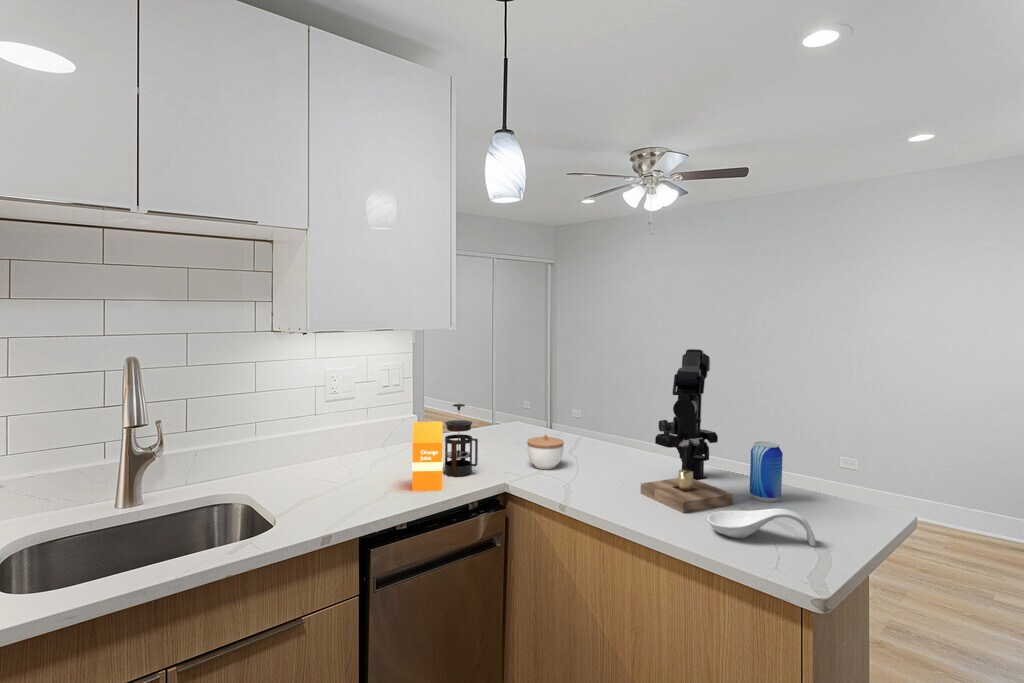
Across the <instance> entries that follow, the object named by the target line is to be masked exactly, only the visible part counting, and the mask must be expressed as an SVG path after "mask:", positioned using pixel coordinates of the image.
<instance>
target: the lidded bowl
mask: <svg viewBox="0 0 1024 683" xmlns="http://www.w3.org/2000/svg"><path fill="white" fill-rule="evenodd" d="M526 442H527V443H526V444H527V454H528V458H529V460H530V462H531V463H532V465H533V466H534V467H535V468H536V469H538V468H539V470H552V468H553V469H555V468H556V466H558V464H559V463H560V462H561V460H562V458H563V454H564V444H565V442H564V440H563V439H561V438H557V437H553V436H548V434H544V435H543V436H537V437H530V438H529V439H527V441H526Z"/></svg>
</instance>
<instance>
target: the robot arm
mask: <svg viewBox="0 0 1024 683" xmlns="http://www.w3.org/2000/svg"><path fill="white" fill-rule="evenodd" d="M681 359H682V360H681V367H679V368H678V369H677V371H676V373H675V374H674V378H673V385H672V386H673V388H672V396H677V400H676V402H675V403H674V404H673V409H672V410H673V414H674V415H675V416H673V420H672V421H668V420H666V419H660V420H659V421H658V431H659V432H660V433H658V434H656V436H655V438H654V439H655V441H654V444H655V445H659V446H661V447H665V448H669V449H670V448H673V449H674V448H676V450H677V452H678V454H679V459H680V461H681V470H691V471H693V479H695V480H702V479H701V478H703V479H707V478H708V476H707V475H705V472H704V470H705V465H704V464H705V462H707V461H709V460H710V446H709V445H708V443H710V444H714V443H715V444H716V443H718V441H719V438H718V434H717V432H716V431H712V430H707V429H702V428H701V423H702V396H703V395H704V393H705V392H704V391H705V383H706V382H705V381H706V379H707V377H708V372H710V370H711V368H710V367H711V360H710V359H711V358H710V356H709V355H708V354H706V353H704V350H702V349H701V348H700V349H699V348H698V349H696V348H693V349H691V348H688V349H686V350H685V353H684V354H683V355H682V358H681ZM702 394H703V395H702ZM662 432H663V433H662ZM706 440H707V441H708V442H707V441H706Z"/></svg>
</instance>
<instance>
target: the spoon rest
mask: <svg viewBox="0 0 1024 683" xmlns="http://www.w3.org/2000/svg"><path fill="white" fill-rule="evenodd" d="M778 518H788V519H791V520H794V521H796V522H797V523H799V524H800V525H802V526H801V527H803V528H804V530H805V533H806V540H807V542H808V544H809V545H810V546H811V547H815V546H816V538H815V533H814V532H813V529H812V527H811V524H810V523H809V522H808V520H807V519H806V518H805V517H803V515H801V514H799V513H797V512H795V511H793V510H790V509H786V508H767V509H757V510H756V509H755V510H720V511H714V512H711V513H710V514H708V516H707V518H706V519H707V520H706V521H707V522H708V523H709V525H710V526H711V528H712V529H714V530H715V531H716V532H718V533H719V534H721V535H722V536H726V537H729V538H733V539H734V538H735V539H745V538H746V539H747V538H748V537H749V536H750V535H752V534H754V533H755V532H757V531H758V530H759V529H760V528H762V527H763V526H764V525H766V524H767V523H769V522H771V521H773V520H775V519H778Z"/></svg>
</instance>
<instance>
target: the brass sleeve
mask: <svg viewBox="0 0 1024 683" xmlns="http://www.w3.org/2000/svg"><path fill="white" fill-rule="evenodd" d="M677 478H678V490H680V491H682V492H691V491H693V471H691V470H682V469H679V470H678V477H677Z"/></svg>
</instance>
